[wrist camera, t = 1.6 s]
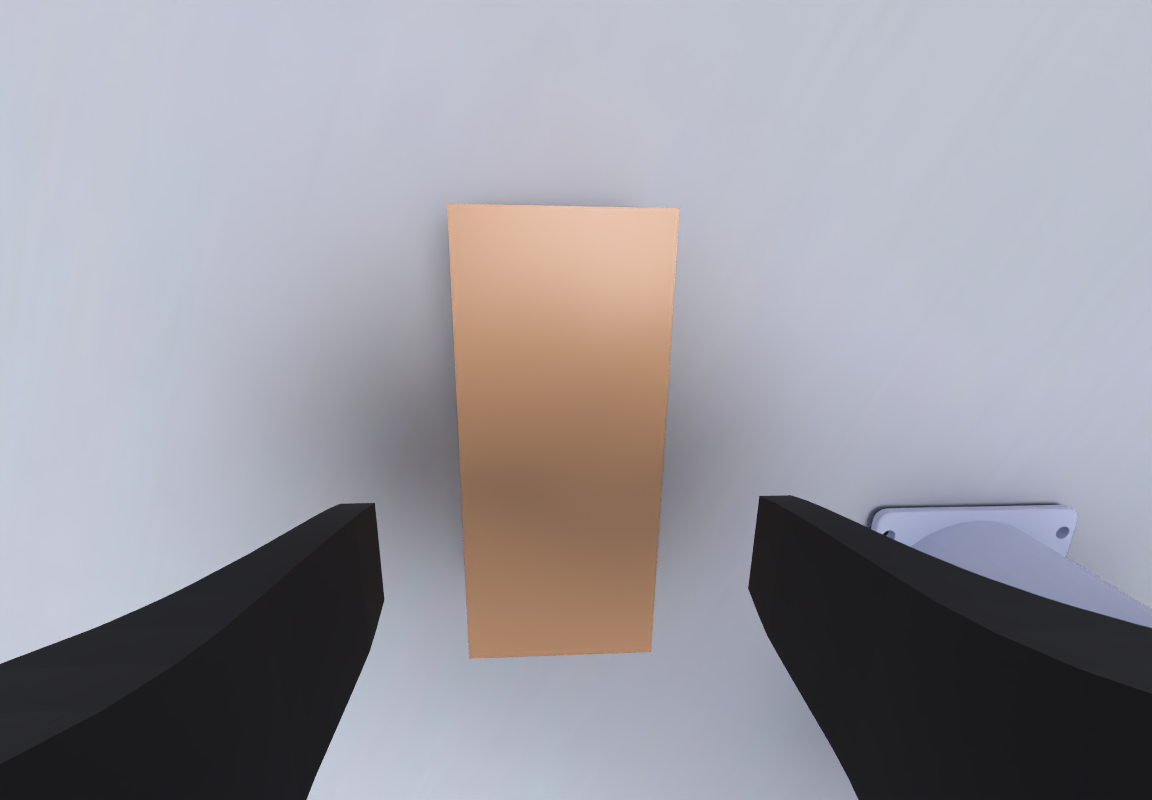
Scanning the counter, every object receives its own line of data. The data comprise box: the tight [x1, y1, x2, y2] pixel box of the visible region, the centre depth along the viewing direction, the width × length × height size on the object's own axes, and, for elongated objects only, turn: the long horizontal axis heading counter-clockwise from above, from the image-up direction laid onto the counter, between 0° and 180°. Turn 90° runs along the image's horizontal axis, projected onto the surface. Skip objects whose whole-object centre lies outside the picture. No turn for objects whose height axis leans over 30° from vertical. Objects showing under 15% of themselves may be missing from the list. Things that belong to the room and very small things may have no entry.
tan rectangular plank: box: [447, 204, 679, 658], centre depth 16 cm, size 13×5×4 cm, turn 179°
